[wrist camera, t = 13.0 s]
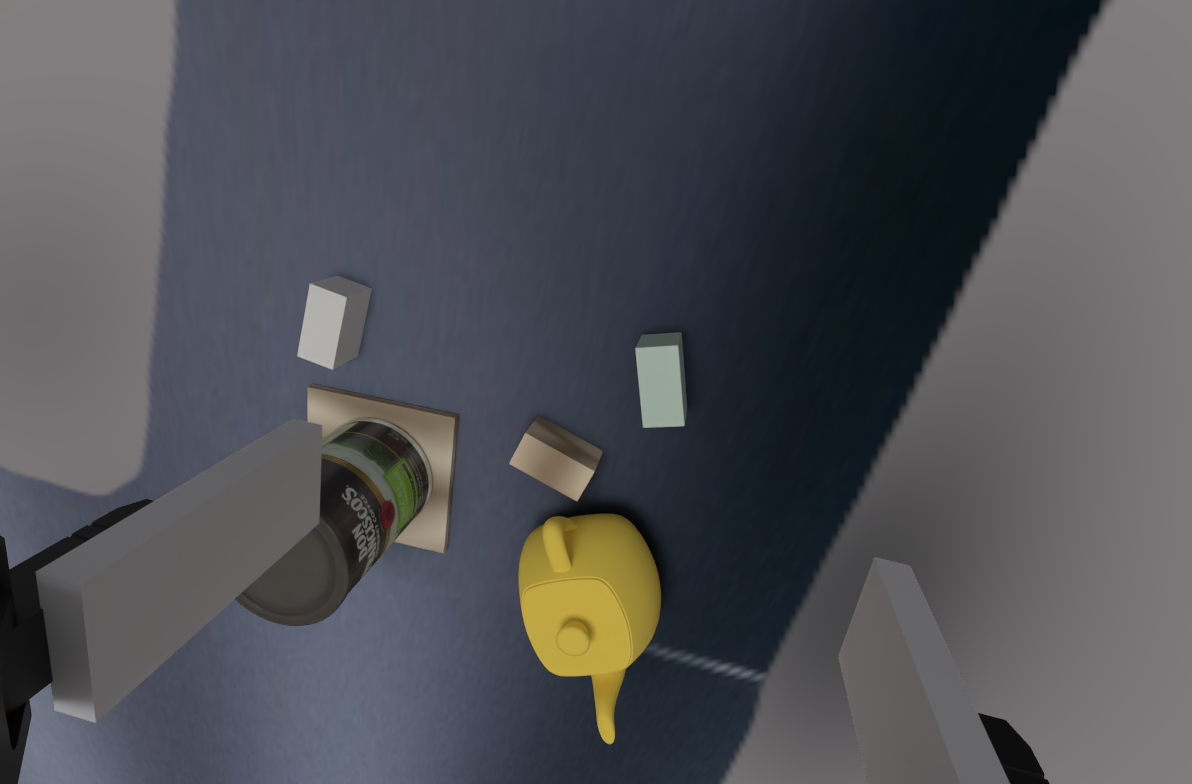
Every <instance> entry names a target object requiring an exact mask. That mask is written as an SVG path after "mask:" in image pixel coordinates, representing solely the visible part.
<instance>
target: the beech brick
mask: <svg viewBox="0 0 1192 784" xmlns="http://www.w3.org/2000/svg"><path fill="white" fill-rule="evenodd" d="M602 453H603V451H602V450H600V449H598V448H597V447H595V446H593V445H591V444H589V443H588V442H586V441H584V440H582V439H580V438H579V437H577V436H575V435H573V434H571V433H570V432H568V431H566V430H564V429H563V428H561V427H559V426H557V425H555V424H554V423H552V422H550V421H548V420H546V419H545V418H543V417H541V416H539V415H538V416H537V418H536V419H535V420H534V422H533V423H532V424H531V426H530V427H529V429H528V430H527V431H526V433H525V435H524V436H523V438H522V440H521V442H520V444H519V446H518V448H517V450H516V452H515V454H514V455H513V457H512V459H511V461H510V463H509V464H510V465H512V466H514V467H516V468H518V469H519V470H521V471H523V472H525V473H527V474H528V475H530V476H532V477H534V478H536V479H537V480H539V481H541V482H543V483H545V484H546V485H548V486H550V487H552V488H554V489H555V490H557V491H559V492H561V493H563V494H564V495H566V496H568V497H570V498H572V499H573V500H575V501H578V499H579V498H580V496H581V494H582V492H583V491H584V489H585V487H586V486H587V484H588V482H589V481H590V479H591V477H592V475H593V474H594V472H595V470H596V467H597V465H598V463H599V460H600V458H601V455H602Z"/></svg>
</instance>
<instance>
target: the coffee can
mask: <svg viewBox="0 0 1192 784" xmlns="http://www.w3.org/2000/svg"><path fill="white" fill-rule="evenodd" d="M431 491H432V472H431V468H430V465H429V463H428V460H427V458H426V455H425V454H424V452H423V450H422V449H421V447H420V446H419V444H418V443H417V442H416V441H415V440H414V439H413V438H412V437H411V436H410V435H409V434H408V433H407V432H405V431H404V430H403V429H401V428H399V427H398V426H396V425H394V424H392V423H389V422H387V421H384V420H380V419H375V418H357V419H354V420H350V421H348V422H345V423H344V424H342V425H340V426H339V427H337V428H336V429H335V430H334V431H333V432H332V433H330V434H329V435H327V436H326V437H324V438H323V439H322V454H321V486H320V517H319V524H318V525H317V526H316V527H315V528H313V529H312V530H311V531H310V532H309V533H308V534H307V535H306V536H304V537H303V538H302V539H301V540H300V541H299V542H298V543H297V544H296V545H294V546H293V547H292V548H291V549H290V550H289V551H288V552H287V553H285V554H284V555H283V556H282V557H281V558H280V559H279V560H278V561H277V562H275V563H274V564H273V565H272V566H271V567H270V568H269V569H268V570H266V571H265V572H264V573H263V574H262V575H261V576H260V577H259V578H257V579H256V580H255V581H254V582H253V583H252V584H251V585H250V586H249V587H247V588H246V589H245V590H244V591H243V592H242V593H241V594H240V595H238V596H237V597H236V598H235V600H236V601H237V602H239V603H240V604H241V605H242V606H244V607H245V608H246V609H248V610H249V611H251V612H253V613H254V614H256V615H258V616H260V617H262V618H264V619H266V620H268V621H271V622H274V623H278V624H282V625H288V626H303V625H310V624H314V623H317V622H320V621H322V620H324V619H326V618H327V617H329V616H330V615H332V614H333V613H334V612H335V611H336V610H337V609H338V607H339V606H340V605H341V604H342V602H343V601H344V599H345V598H346V596H347V594H348V593H349V592H350V591H351V589H352V588H353V587H354V586H355V585H356V584H357V583H358V582H359V581H360V579H361V578H362V577H363V576H364V575H365V574H366V572H367V571H368V570H369V569H370V568H371V567H372V566H373V565H374V563H375V562H376V561H377V560H378V559H379V558H380V557H381V555H382V554H383V553H384V552H385V551H386V550H387V549H388V548H389V547H390V545H391V544H392V543H393V542H394V541H395V540H396V539H397V537H398V536H399V535H400V534H401V533H402V532H403V531H404V530H405V528H406V527H407V526H408V525H409V524H410V523H411V522H412V521H413V520H414V518H416V517H417V516H418V515H419V514H420V513H421V512H422V511H423V510H424V508H425V507H426V505H427V503H428V501H429V499H430V496H431Z"/></svg>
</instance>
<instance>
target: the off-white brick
mask: <svg viewBox="0 0 1192 784" xmlns="http://www.w3.org/2000/svg"><path fill="white" fill-rule="evenodd" d="M371 291H372V288H369V287H367V286H364V285H362V284H359V283H356V282H354V281H351V280H348V279H346V278H343V277H340V276H338V275H337V276H334V277H331V278H327V279H324V280H320V281H317V282H314V283H310V287H309V292H308V298H307V304H306V309H305V315H304V321H303V327H302V332H301V338H300V344H299V349H298V355H297V356H298V357H301V358H304V359H306V360H309V361H311V362H314V363H317V364H319V365H322V366H324V367H327V368H329V369H332V370H333V369H335V368H337V367H339V366H341V365H342V364H344V363H346V362H348V361H350V360H352V359H354V358H356V357H358V353H359V348H360V344H361V339H362V334H363V329H364V324H365V320H366V315H367V310H368V305H369V301H370V296H371Z"/></svg>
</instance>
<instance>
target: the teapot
mask: <svg viewBox="0 0 1192 784" xmlns="http://www.w3.org/2000/svg"><path fill="white" fill-rule="evenodd" d="M519 592H520V602H521V609H522V615H523V619H524V623H525V627H526V631H527V634H528V636H529V639H530V641H531V644H532V646H533V648H534V650H535V652H536V654H537V656H538V657H539V659H540V661H541V662H542V663H543V665H544V666H545V667H546V668H547V669H548V670H549V671H550V672H552V673H553V674H556V675H559V676H584V675H591V676H592V682H593V688H594V696H595V706H596V715H597V724H598V729H599V732H600V734H601V736H602V738H603V740H604V741H605V742H606V743H607V744H612V743H613V742H614V739H615V727H614V709H615V703H616V699H617V696H618V693H619V690H620V687H621V684H622V681H623V678H624V675H625V671H626V668H627V667H628V666H629V665H630V664H632V663H633V662H634V661H635V660H636V659H637V658H638V656H639V655H640V654H641V653H642V652H643V651H644V649H645V648H646V647H647V645H648V644H649V642H650V641H651V639H652V637H653V634H654V632H655V629H656V626H657V623H658V621H659V615H660V608H661V587H660V580H659V576H658V571H657V567H656V564H655V561H654V559H653V556H652V554H651V552H650V550H649V548H648V546H647V544H646V542H645V540H644V539H643V537H642V535H641V534H640V533H639V531H638V530H637V528H636V527H635V526H634V525H633V524H632V523H631V522H630V521H629V520H628V519H626V518H625V517H623V516H620V515H617V514H589V515H581V516H574V517H569V518H565V517H562V516H555V517H551V518H549V519H548V520H547V521H546V522H545V523H544V525H541V526H539V527H537V528H536V529H534V530H533V531H532V532H531V533H530V534H529V536H528V538H527V539H526V541H525V543H524V546H523V550H522V554H521V558H520V563H519Z"/></svg>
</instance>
